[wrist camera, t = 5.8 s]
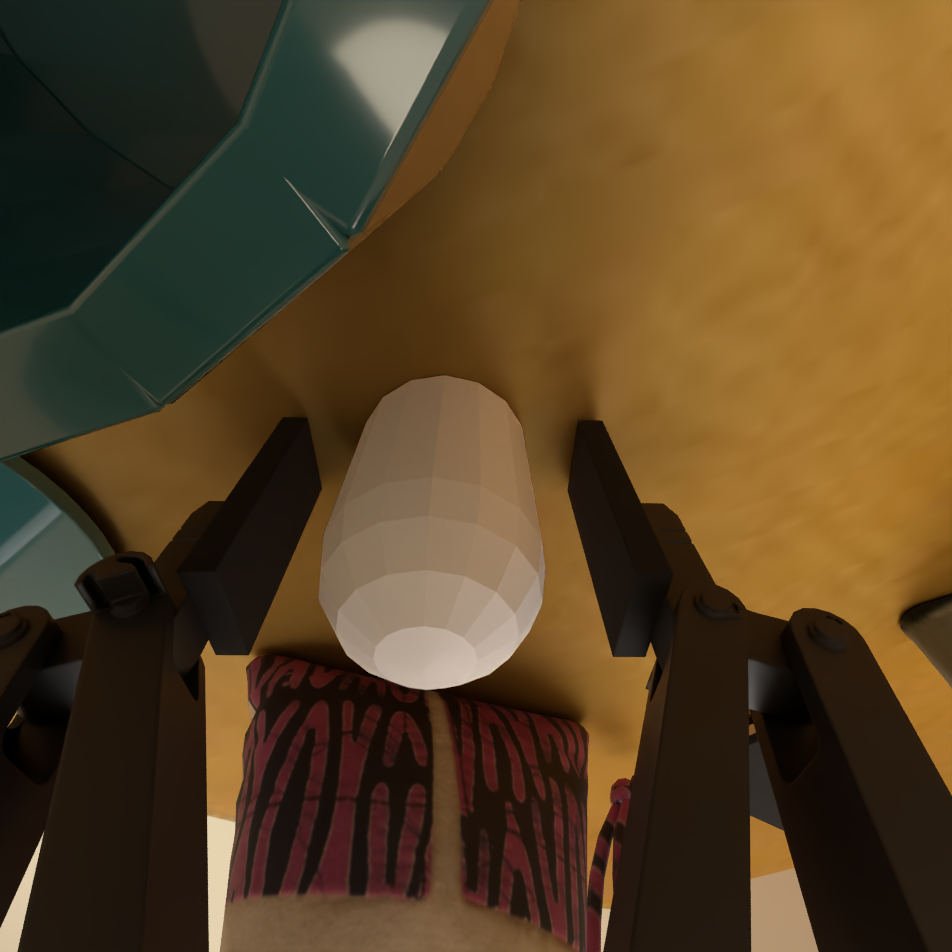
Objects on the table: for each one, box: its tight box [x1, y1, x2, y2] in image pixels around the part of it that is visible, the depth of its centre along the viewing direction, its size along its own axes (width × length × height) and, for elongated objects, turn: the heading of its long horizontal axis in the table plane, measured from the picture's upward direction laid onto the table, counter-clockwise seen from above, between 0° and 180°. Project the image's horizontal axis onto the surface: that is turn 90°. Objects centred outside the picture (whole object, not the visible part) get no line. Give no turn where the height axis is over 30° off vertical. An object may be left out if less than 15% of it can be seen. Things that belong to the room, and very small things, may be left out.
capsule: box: [318, 375, 545, 690], centre depth 13 cm, size 5×5×8 cm
